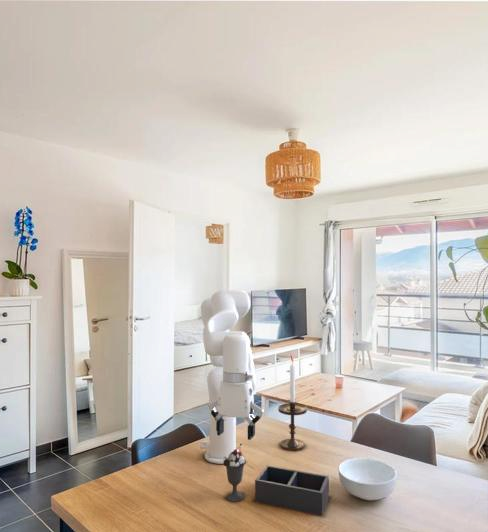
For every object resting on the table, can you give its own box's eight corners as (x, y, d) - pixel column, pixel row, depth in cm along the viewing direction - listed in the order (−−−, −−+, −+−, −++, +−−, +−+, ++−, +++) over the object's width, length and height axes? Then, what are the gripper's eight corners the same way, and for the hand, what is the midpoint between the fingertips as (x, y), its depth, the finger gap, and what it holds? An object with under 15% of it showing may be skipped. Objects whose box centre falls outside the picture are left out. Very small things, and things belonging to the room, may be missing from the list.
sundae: (250, 493, 119) (250, 442, 119) (239, 505, 113) (239, 451, 113) (230, 489, 122) (230, 438, 122) (219, 500, 116) (219, 447, 116)
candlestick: (279, 452, 148) (279, 356, 149) (277, 440, 159) (277, 351, 160) (308, 452, 148) (308, 356, 149) (304, 440, 159) (304, 351, 160)
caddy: (322, 515, 108) (322, 493, 108) (254, 501, 115) (254, 480, 115) (328, 496, 118) (328, 476, 118) (266, 484, 124) (266, 465, 125)
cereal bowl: (357, 474, 131) (357, 452, 132) (407, 493, 119) (406, 469, 120) (327, 493, 119) (327, 469, 120) (378, 517, 108) (378, 490, 108)
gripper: (267, 376, 119) (267, 435, 118) (214, 372, 125) (214, 428, 124) (258, 382, 112) (258, 445, 111) (203, 377, 118) (203, 436, 117)
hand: (235, 436), depth 117 cm, fingers open, 9 cm apart
